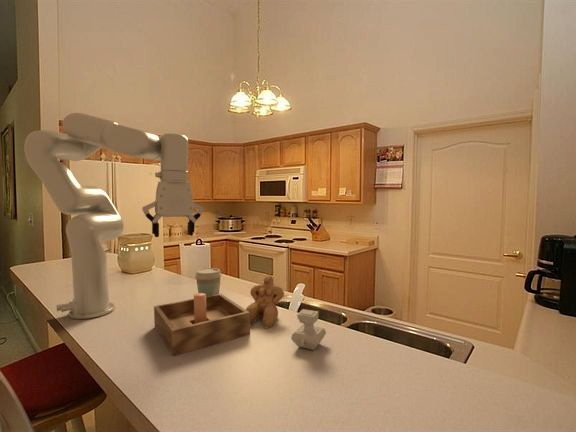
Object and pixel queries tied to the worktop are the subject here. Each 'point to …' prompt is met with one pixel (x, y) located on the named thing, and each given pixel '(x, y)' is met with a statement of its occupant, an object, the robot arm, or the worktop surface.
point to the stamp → (308, 330)
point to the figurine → (265, 302)
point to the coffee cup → (208, 281)
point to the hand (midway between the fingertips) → (173, 235)
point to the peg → (200, 308)
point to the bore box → (189, 336)
